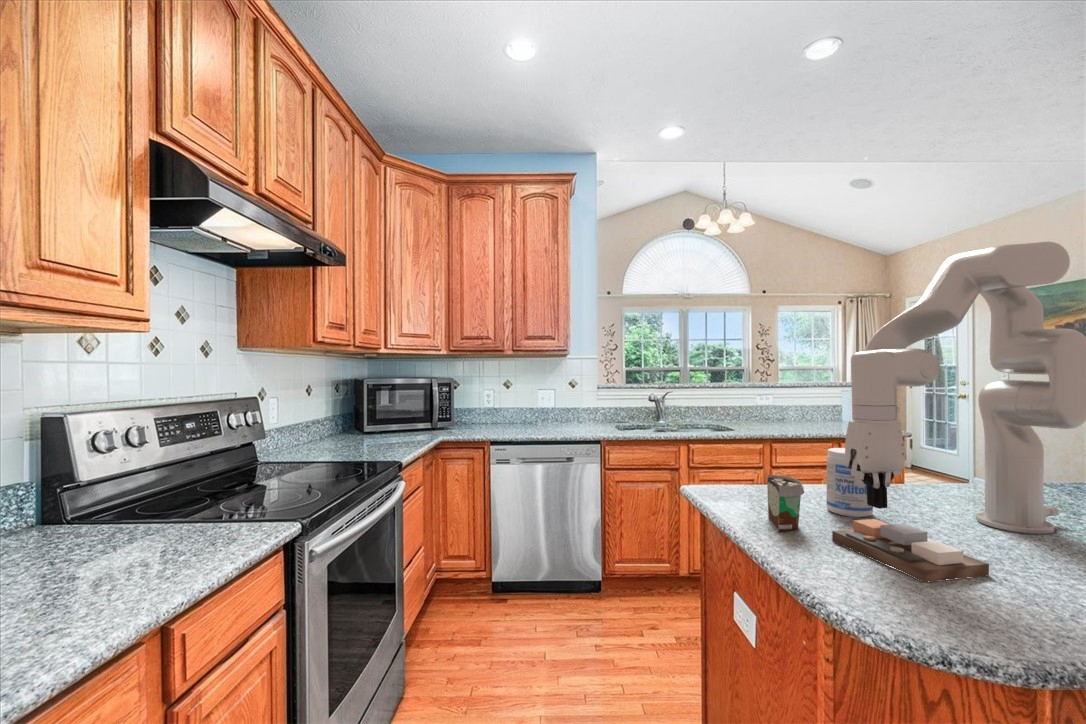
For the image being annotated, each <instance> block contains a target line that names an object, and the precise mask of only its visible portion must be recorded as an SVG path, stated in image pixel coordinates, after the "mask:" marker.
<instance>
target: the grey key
mask: <svg viewBox="0 0 1086 724" xmlns="http://www.w3.org/2000/svg"><path fill="white" fill-rule="evenodd" d="M880 528H881V536H882V537H885V538H887V539H890V540H892V541H895V542H897V543H900V544H902V545H911V544H912V543H916V542H927V541H928V531H925V530H923V529H920V528H918V527H914V526H912V525H908V524H905V523H903V522H902V523H893V524H891V523H890V525H880Z"/></svg>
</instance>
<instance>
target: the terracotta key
mask: <svg viewBox="0 0 1086 724" xmlns="http://www.w3.org/2000/svg"><path fill="white" fill-rule="evenodd" d="M890 524H891V523H890ZM890 524H889V523H888V522H887V523H886V522H883V521H882V520H878V519H876V518H871V519H868V518H867V519H858V520H852V525H853V527H852V529H853V531H856V532H860V533H863V534H865V535H868V536H872V537H875V538H876V539H879V538H885V537H882V536H881V528H880V525H890Z"/></svg>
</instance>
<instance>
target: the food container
mask: <svg viewBox="0 0 1086 724" xmlns="http://www.w3.org/2000/svg"><path fill="white" fill-rule="evenodd" d="M766 475H767V477H766V484H767V512H768V513H767V515H768V516H767V517H768V518H767V519H768V520H769V522H770V523H771V524H772V526H773V527H774V528H775V530H776V531H777V532H778V533H780V534H781V533H782V532H783V534H784V533H794V532H796V531H798V530H799V522H800V512H801V511H800V509H801V499H802V497H801V496H802V495H804V494H805V489H804V485H803V484H802V481H801V480H800V479H797V478H793V477H790V476H784V475H778V474H766Z"/></svg>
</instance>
